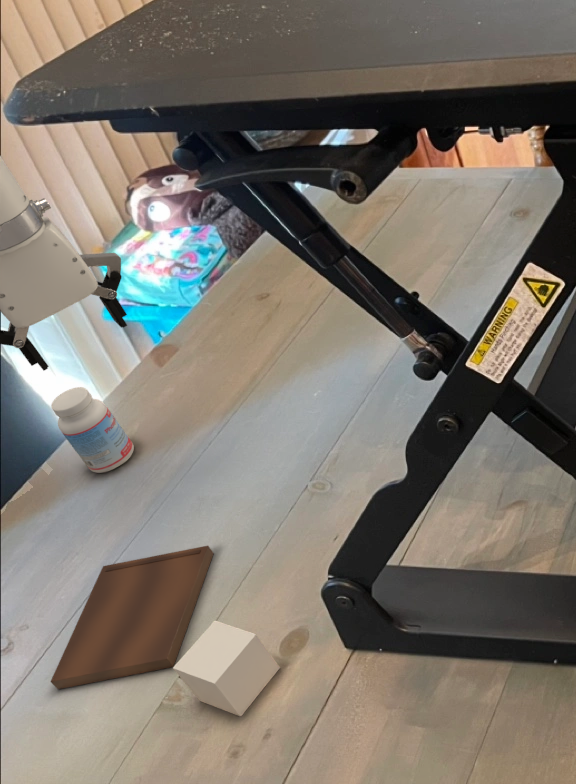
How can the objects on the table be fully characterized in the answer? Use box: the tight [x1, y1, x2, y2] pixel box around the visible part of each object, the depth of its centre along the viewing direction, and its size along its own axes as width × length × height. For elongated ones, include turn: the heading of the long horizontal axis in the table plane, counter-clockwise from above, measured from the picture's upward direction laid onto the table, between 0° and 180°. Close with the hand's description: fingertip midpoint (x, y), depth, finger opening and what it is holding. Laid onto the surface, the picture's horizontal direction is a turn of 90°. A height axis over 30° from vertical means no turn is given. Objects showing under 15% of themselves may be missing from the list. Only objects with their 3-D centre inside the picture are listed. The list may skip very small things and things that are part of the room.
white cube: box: [172, 620, 281, 717], centre depth 110 cm, size 6×6×6 cm
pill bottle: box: [50, 386, 135, 474], centre depth 143 cm, size 6×6×11 cm
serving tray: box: [50, 545, 214, 690], centre depth 121 cm, size 13×16×2 cm
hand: (82, 343), depth 130 cm, fingers open, 9 cm apart
